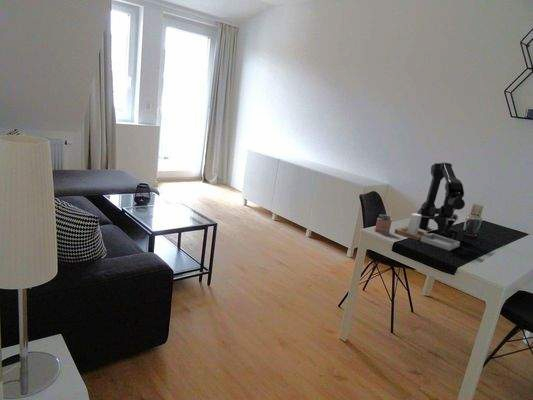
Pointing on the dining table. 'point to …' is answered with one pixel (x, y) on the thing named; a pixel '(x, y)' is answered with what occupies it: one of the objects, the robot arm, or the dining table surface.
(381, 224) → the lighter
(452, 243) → the tray
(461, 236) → the digital camera
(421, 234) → the socket block
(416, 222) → the skincare box
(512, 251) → the dining table surface
